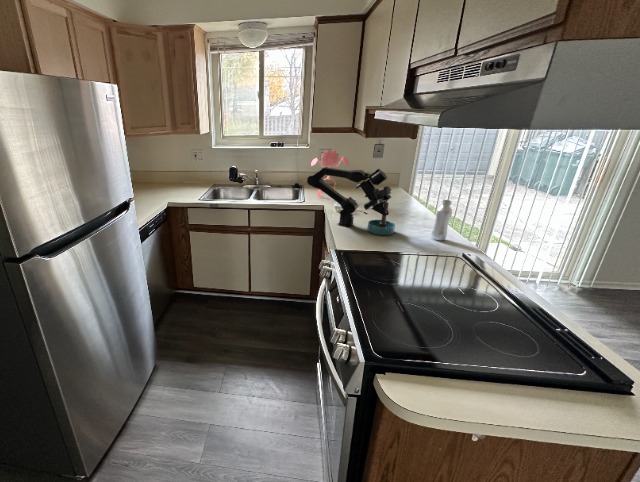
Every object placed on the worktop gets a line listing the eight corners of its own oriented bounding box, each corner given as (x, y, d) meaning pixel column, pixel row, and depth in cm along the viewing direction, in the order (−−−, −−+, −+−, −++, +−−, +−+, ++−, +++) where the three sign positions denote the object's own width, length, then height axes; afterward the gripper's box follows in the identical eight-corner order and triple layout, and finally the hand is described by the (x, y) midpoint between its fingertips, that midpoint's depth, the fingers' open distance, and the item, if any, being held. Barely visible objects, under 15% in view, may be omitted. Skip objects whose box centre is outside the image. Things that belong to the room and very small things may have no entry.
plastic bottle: (440, 242, 156) (450, 203, 148) (427, 238, 161) (436, 200, 154) (448, 240, 158) (458, 201, 151) (435, 236, 164) (444, 198, 157)
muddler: (377, 228, 168) (381, 202, 163) (379, 226, 171) (383, 201, 165) (384, 229, 166) (388, 204, 161) (386, 228, 168) (391, 202, 163)
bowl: (363, 232, 170) (364, 224, 169) (372, 225, 179) (373, 218, 178) (388, 237, 162) (390, 229, 161) (396, 230, 171) (398, 223, 170)
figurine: (309, 195, 243) (312, 148, 231) (344, 197, 238) (349, 148, 225) (308, 200, 230) (311, 150, 217) (345, 202, 224) (351, 151, 211)
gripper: (372, 184, 156) (391, 210, 153) (390, 179, 168) (408, 203, 164) (356, 197, 165) (373, 222, 161) (374, 191, 176) (390, 214, 172)
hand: (387, 215), depth 164 cm, fingers closed on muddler, 2 cm apart
